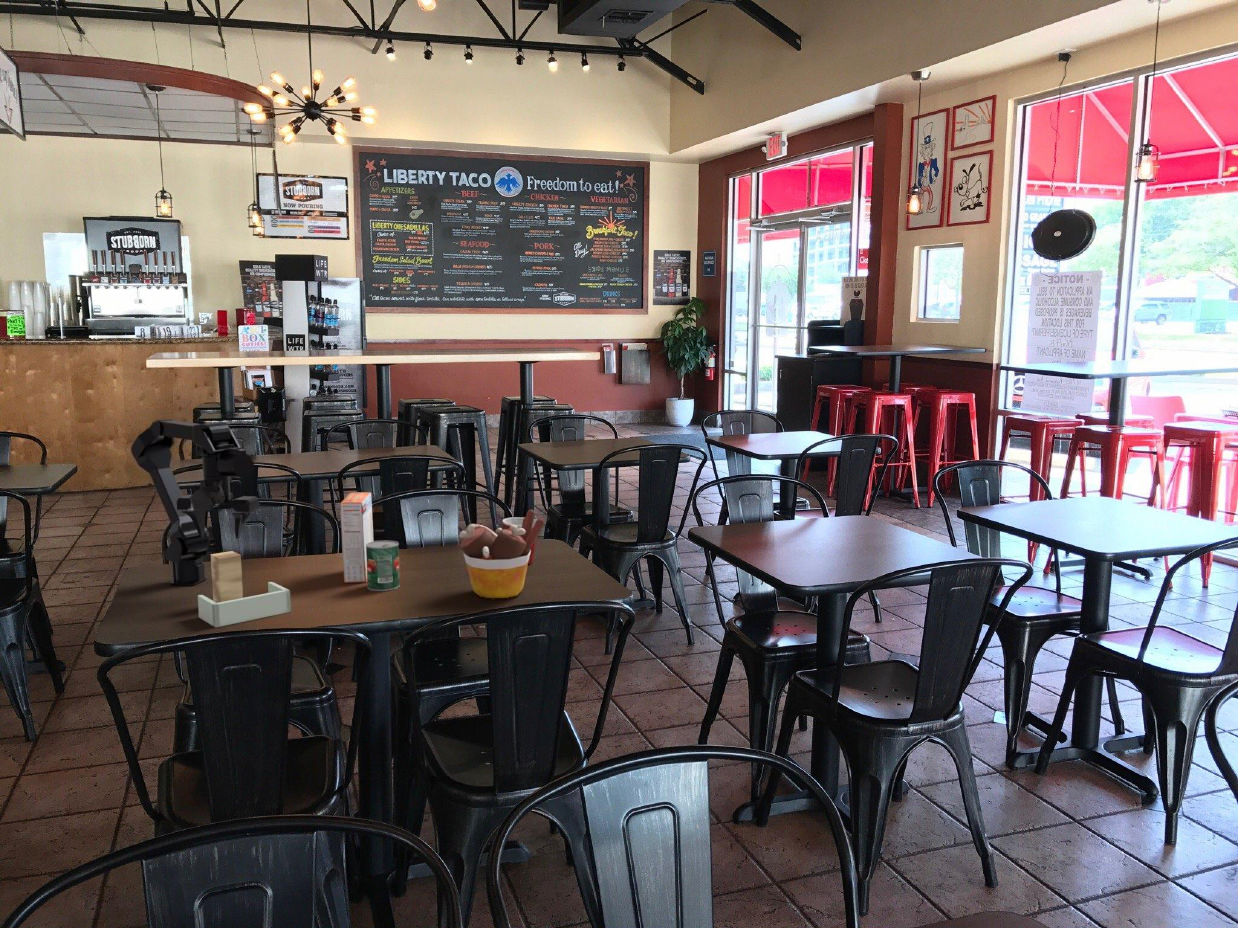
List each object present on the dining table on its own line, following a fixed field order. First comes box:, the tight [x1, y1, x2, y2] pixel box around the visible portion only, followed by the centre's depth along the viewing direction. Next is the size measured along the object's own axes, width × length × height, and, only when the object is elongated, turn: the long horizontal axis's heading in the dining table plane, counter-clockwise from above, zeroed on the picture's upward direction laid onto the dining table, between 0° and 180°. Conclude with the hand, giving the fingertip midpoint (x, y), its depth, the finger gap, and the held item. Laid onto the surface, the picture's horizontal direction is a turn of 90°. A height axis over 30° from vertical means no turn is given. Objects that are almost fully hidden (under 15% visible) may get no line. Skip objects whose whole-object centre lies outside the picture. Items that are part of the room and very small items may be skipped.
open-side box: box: [197, 581, 292, 628], centre depth 219 cm, size 10×17×5 cm, turn 133°
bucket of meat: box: [458, 509, 545, 600], centre depth 236 cm, size 20×16×20 cm
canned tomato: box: [366, 540, 401, 592], centre depth 241 cm, size 8×8×11 cm
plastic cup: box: [502, 516, 538, 565], centre depth 265 cm, size 11×11×12 cm
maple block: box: [210, 550, 244, 603], centre depth 225 cm, size 5×5×12 cm
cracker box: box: [339, 491, 374, 584], centre depth 250 cm, size 14×6×21 cm, turn 5°
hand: (219, 537), depth 237 cm, fingers open, 9 cm apart
